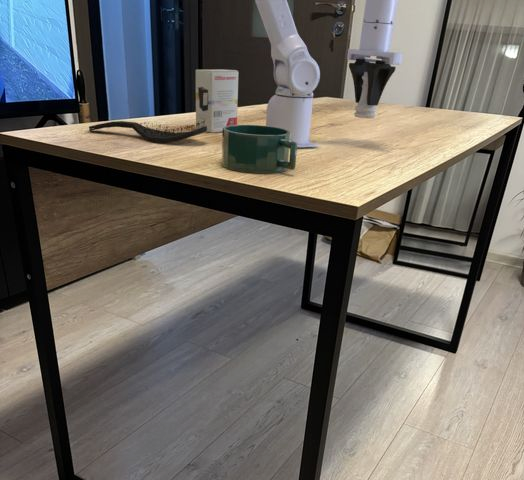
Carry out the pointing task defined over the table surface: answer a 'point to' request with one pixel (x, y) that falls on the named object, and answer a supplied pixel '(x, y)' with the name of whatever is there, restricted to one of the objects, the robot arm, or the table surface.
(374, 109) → the rook chess piece
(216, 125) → the ink box
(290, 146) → the green coffee mug
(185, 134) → the hairbrush
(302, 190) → the table surface
